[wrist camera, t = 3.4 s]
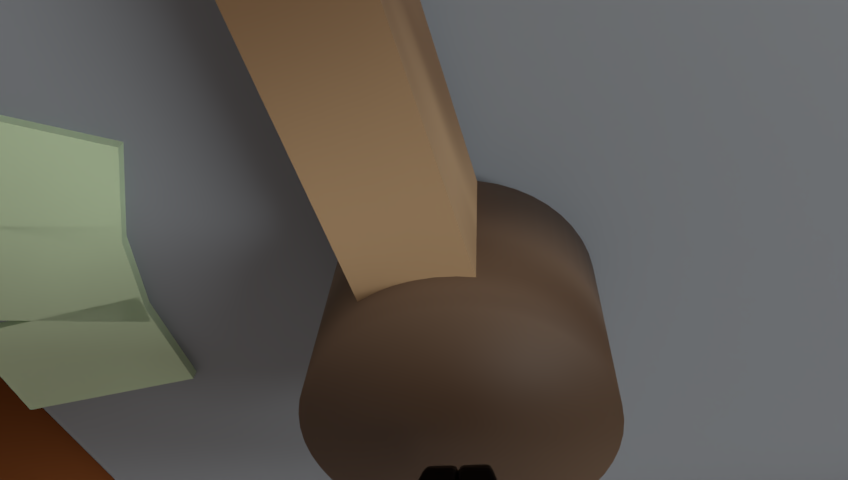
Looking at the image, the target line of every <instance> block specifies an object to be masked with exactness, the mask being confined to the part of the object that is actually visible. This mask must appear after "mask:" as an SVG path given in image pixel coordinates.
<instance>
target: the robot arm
mask: <svg viewBox="0 0 848 480" xmlns="http://www.w3.org/2000/svg"><path fill="white" fill-rule="evenodd" d="M418 480H497V478H496V475H495V473H494V471H493V469H492V467H491V466H490V465H488V464H477V465H463V466H461V467H460V468H459V470H458V468H457V467H456V466H453V465H443V466H428V467H427V468H425V469H424V471H423V472H422V474H421V475H420V477H419V479H418Z"/></svg>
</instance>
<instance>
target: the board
mask: <svg viewBox="0 0 848 480" xmlns="http://www.w3.org/2000/svg"><path fill="white" fill-rule="evenodd" d="M420 1H421V5H422V8H423V11H424V14H425V17H426V20H427V24H428V27H429V30H430V33H431V36H432V39H433V43H434V46H435V49H436V52H437V55H438V59H439V62H440V65H441V68H442V71H443V74H444V78H445V81H446V84H447V87H448V90H449V93H450V97H451V100H452V103H453V106H454V109H455V112H456V116H457V119H458V122H459V125H460V128H461V132H462V135H463V138H464V141H465V144H466V147H467V151H468V154H469V157H470V160H471V163H472V166H473V170H474V173H475V176H476V179H477V181H482V182H488V183H494V184H499V185H503V186H506V187H510V188H513V189H517V190H519V191H521V192H524V193H526V194H529V195H531V196H533V197H535V198H537V199H538V200H540V201H542V202H544V203H545V204H547V205H549V206H550V207H551V208H553V209H554V210H555V211H556V212H558V213H559V214H560V215H562V216H563V217H564V218H565V220H566V221H567V222H568V223H569V224H570V225H571V226H572V227H573V228H574V229H575V231H576V232H577V233H578V235H579V236H580V238H581V239H582V241H583V243H584V245H585V247H586V249H587V251H588V253H589V256H590V259H591V262H592V265H593V269H594V274H595V279H596V284H597V288H598V293H599V298H600V302H601V307H602V312H603V316H604V321H605V326H606V331H607V335H608V340H609V345H610V349H611V354H612V359H613V363H614V368H615V373H616V378H617V382H618V387H619V392H620V396H621V401H622V406H623V414H624V432H623V438H622V441H621V445H620V449H619V451H618V453H617V455H616V457H615V459H614V461H613V463H612V464H611V466H610V467H609V468H608V470H607V471H606V473H605V474H604V475H603V476H602V477H601V478H600V479H599V480H848V0H420ZM337 262H338V260H337V258H336V255H335V253H334V251H333V249H332V247H331V245H330V243H329V241H328V238H327V236H326V234H325V232H324V230H323V228H322V226H321V224H320V222H319V219H318V217H317V215H316V213H315V211H314V209H313V207H312V205H311V202H310V200H309V198H308V196H307V194H306V192H305V190H304V188H303V186H302V183H301V181H300V179H299V177H298V175H297V173H296V171H295V169H294V166H293V164H292V162H291V160H290V158H289V156H288V154H287V152H286V150H285V147H284V145H283V143H282V141H281V139H280V137H279V135H278V133H277V130H276V128H275V126H274V124H273V122H272V120H271V118H270V116H269V114H268V111H267V109H266V107H265V105H264V103H263V101H262V99H261V97H260V95H259V92H258V90H257V88H256V86H255V84H254V82H253V80H252V78H251V75H250V73H249V71H248V69H247V67H246V65H245V63H244V61H243V59H242V56H241V54H240V52H239V50H238V48H237V46H236V44H235V42H234V39H233V37H232V35H231V33H230V31H229V29H228V27H227V25H226V23H225V20H224V18H223V16H222V14H221V12H220V10H219V8H218V6H217V3H216V1H215V0H0V377H1V378H2V379H3V380H4V381H5V382H6V383H7V384H8V385H9V387H10V388H11V389H12V390H13V391H14V392H15V393H16V394H17V396H18V397H19V398H20V399H21V400H22V401H23V402H24V403H25V404H26V406H27V407H28V408H29V409H30V410H33V409H38V408H43V409H44V410H45V411H46V412H47V413H49V414H50V415H51V416H52V417H53V418H54V419H55V420H56V421H57V422H58V423H59V424H60V425H61V426H62V427H63V428H64V429H65V430H66V431H67V432H68V433H69V434H70V435H71V436H72V437H73V438H74V439H75V440H76V441H77V442H78V443H79V444H80V445H81V446H82V447H83V448H84V449H85V450H86V451H87V452H88V453H89V454H90V455H91V456H92V457H93V458H94V459H95V460H96V461H97V462H98V463H99V464H100V465H101V466H102V467H103V468H104V469H105V470H106V471H107V472H108V473H109V474H110V475H111V476H112V477H113V478H114V479H115V480H332V479H331V478H330V477H329V476H328V475H327V474H326V473H325V472H324V471H323V470H322V468H321V467H320V466H319V465H318V463H317V462H316V461H315V459H314V458H313V456H312V455H311V453H310V451H309V449H308V447H307V446H306V444H305V442H304V439H303V435H302V432H301V429H300V423H299V414H298V412H299V399H300V395H301V392H302V388H303V384H304V381H305V377H306V374H307V370H308V366H309V363H310V359H311V356H312V352H313V348H314V345H315V341H316V338H317V334H318V330H319V327H320V323H321V320H322V316H323V312H324V309H325V305H326V302H327V298H328V294H329V291H330V287H331V284H332V280H333V276H334V273H335V269H336V266H337Z"/></svg>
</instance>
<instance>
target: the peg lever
mask: <svg viewBox="0 0 848 480" xmlns="http://www.w3.org/2000/svg"><path fill="white" fill-rule="evenodd" d="M215 1H216V3H217V6H218V8H219V10H220V12H221V14H222V16H223V18H224V20H225V23H226V25H227V27H228V29H229V31H230V33H231V35H232V37H233V39H234V42H235V44H236V46H237V48H238V50H239V52H240V54H241V56H242V59H243V61H244V63H245V65H246V67H247V69H248V71H249V73H250V75H251V78H252V80H253V82H254V84H255V86H256V88H257V90H258V92H259V95H260V97H261V99H262V101H263V103H264V105H265V107H266V109H267V111H268V114H269V116H270V118H271V120H272V122H273V124H274V126H275V128H276V130H277V133H278V135H279V137H280V139H281V141H282V143H283V145H284V147H285V150H286V152H287V154H288V156H289V158H290V160H291V162H292V164H293V166H294V169H295V171H296V173H297V175H298V177H299V179H300V181H301V183H302V186H303V188H304V190H305V192H306V194H307V196H308V198H309V200H310V202H311V205H312V207H313V209H314V211H315V213H316V215H317V217H318V219H319V222H320V224H321V226H322V228H323V230H324V232H325V234H326V236H327V238H328V241H329V243H330V245H331V247H332V249H333V251H334V253H335V255H336V258H337V260H338V262H337V266H336V269H335V273H334V276H333V280H332V284H331V287H330V291H329V294H328V298H327V302H326V305H325V309H324V312H323V316H322V320H321V323H320V327H319V330H318V334H317V338H316V341H315V345H314V348H313V352H312V356H311V359H310V363H309V366H308V370H307V374H306V377H305V381H304V384H303V388H302V392H301V395H300V399H299V412H298V414H299V423H300V429H301V432H302V435H303V439H304V442H305V444H306V446H307V447H308V449H309V451H310V453H311V455H312V456H313V458H314V459H315V461H316V462H317V463H318V465H319V466H320V467H321V468H322V470H323V471H324V472H325V473H326V474H327V475H328V476H329V477H330V478H331V479H332V480H418V479H419V477H420V475H421V474H422V472H423V471H424V469H425V468H427V467H428V466H443V465H453V466H456V467H457V468H458V470H459V468H460V467H461V466H463V465H477V464H488V465H490V466H491V467H492V469H493V471H494V473H495V475H496V478H497V480H599V479H600V478H601V477H602V476H603V475H604V474H605V473H606V471H607V470H608V468H609V467H610V466H611V464H612V463H613V461H614V459H615V457H616V455H617V453H618V451H619V449H620V445H621V441H622V438H623V432H624V414H623V406H622V401H621V396H620V392H619V387H618V382H617V378H616V373H615V368H614V363H613V359H612V354H611V349H610V345H609V340H608V335H607V331H606V326H605V321H604V316H603V312H602V307H601V302H600V298H599V293H598V288H597V284H596V279H595V274H594V269H593V265H592V262H591V259H590V256H589V253H588V251H587V249H586V247H585V245H584V243H583V241H582V239H581V238H580V236H579V235H578V233H577V232H576V231H575V229H574V228H573V227H572V226H571V225H570V224H569V223H568V222H567V221H566V220H565V218H564V217H563V216H562V215H560V214H559V213H558V212H556V211H555V210H554V209H553V208H551V207H550V206H549V205H547V204H545V203H544V202H542V201H540V200H538V199H537V198H535V197H533V196H531V195H529V194H526V193H524V192H521V191H519V190H517V189H513V188H510V187H506V186H503V185H499V184H494V183H488V182H482V181H477V179H476V176H475V173H474V170H473V166H472V163H471V160H470V157H469V154H468V151H467V147H466V144H465V141H464V138H463V135H462V132H461V128H460V125H459V122H458V119H457V116H456V112H455V109H454V106H453V103H452V100H451V97H450V93H449V90H448V87H447V84H446V81H445V78H444V74H443V71H442V68H441V65H440V62H439V59H438V55H437V52H436V49H435V46H434V43H433V39H432V36H431V33H430V30H429V27H428V24H427V20H426V17H425V14H424V11H423V8H422V5H421V1H420V0H215Z"/></svg>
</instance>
